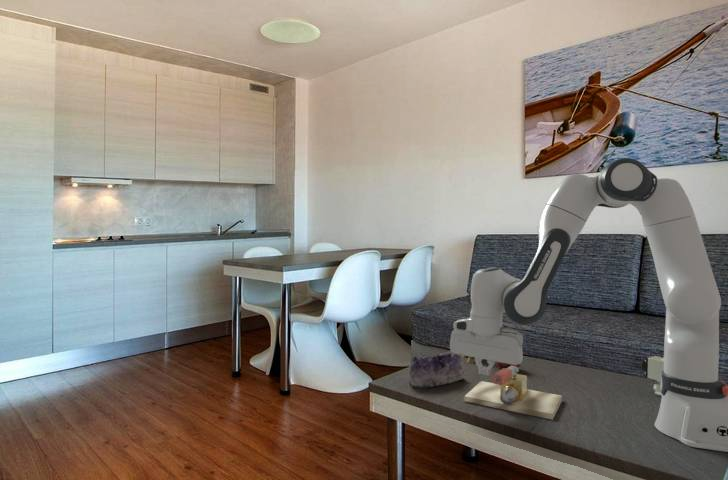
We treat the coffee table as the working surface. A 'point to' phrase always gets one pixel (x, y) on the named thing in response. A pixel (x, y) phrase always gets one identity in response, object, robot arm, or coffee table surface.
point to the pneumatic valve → (654, 370)
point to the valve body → (514, 389)
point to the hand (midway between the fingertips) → (484, 374)
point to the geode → (435, 371)
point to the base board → (530, 405)
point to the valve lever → (505, 375)
